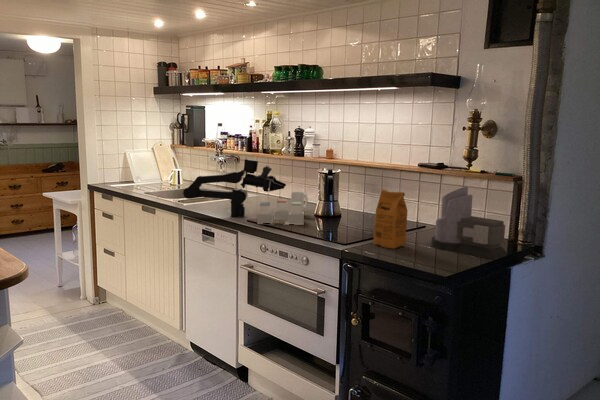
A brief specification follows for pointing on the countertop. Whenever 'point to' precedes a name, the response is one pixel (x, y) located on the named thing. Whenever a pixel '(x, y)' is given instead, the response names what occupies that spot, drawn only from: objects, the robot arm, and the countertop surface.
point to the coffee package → (390, 220)
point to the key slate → (265, 208)
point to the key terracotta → (281, 205)
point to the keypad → (281, 217)
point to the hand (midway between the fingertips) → (285, 186)
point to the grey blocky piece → (467, 228)
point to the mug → (299, 199)
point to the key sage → (296, 207)
